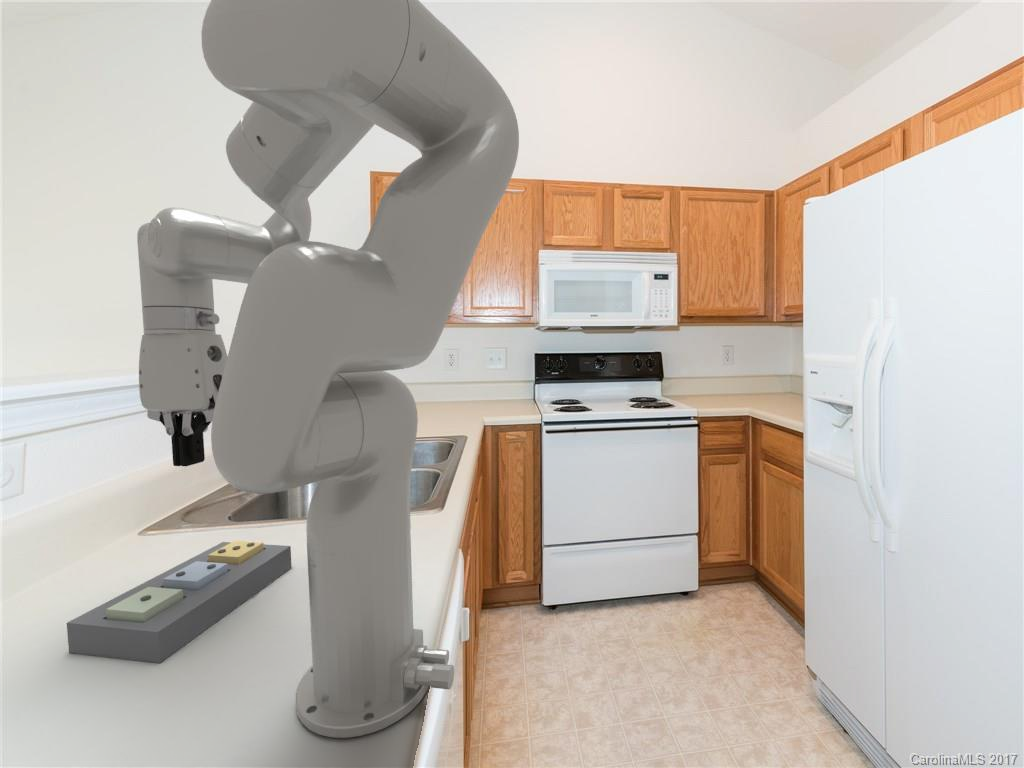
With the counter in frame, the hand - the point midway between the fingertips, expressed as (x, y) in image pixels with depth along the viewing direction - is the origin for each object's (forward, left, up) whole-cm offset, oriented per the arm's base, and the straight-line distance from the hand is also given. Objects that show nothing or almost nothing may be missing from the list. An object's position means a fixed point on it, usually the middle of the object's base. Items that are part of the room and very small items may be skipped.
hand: (189, 463), depth 59 cm
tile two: (0, 0, -17) cm, 17 cm away
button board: (0, 0, -19) cm, 19 cm away
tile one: (0, +7, -17) cm, 18 cm away
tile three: (0, -7, -17) cm, 18 cm away
